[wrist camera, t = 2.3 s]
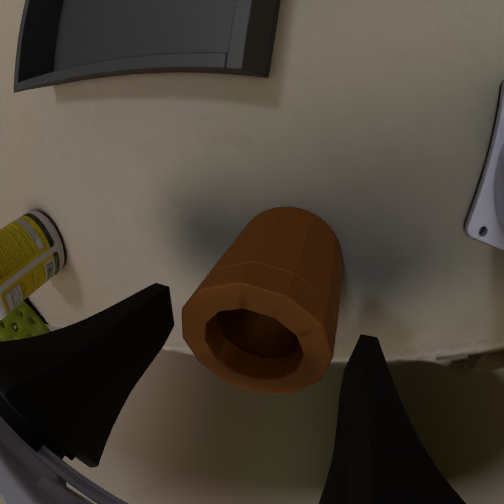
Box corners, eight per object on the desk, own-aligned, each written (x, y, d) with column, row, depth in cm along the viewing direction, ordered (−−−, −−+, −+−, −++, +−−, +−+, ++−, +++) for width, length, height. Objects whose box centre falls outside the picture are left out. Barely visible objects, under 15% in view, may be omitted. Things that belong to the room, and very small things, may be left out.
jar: (354, 223, 13) (354, 314, 8) (325, 308, 16) (305, 406, 10) (246, 195, 14) (179, 263, 9) (235, 282, 17) (183, 366, 11)
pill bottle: (23, 209, 21) (-64, 266, 12) (53, 207, 19) (-53, 278, 10) (42, 265, 24) (-33, 328, 15) (75, 273, 22) (-12, 352, 13)
